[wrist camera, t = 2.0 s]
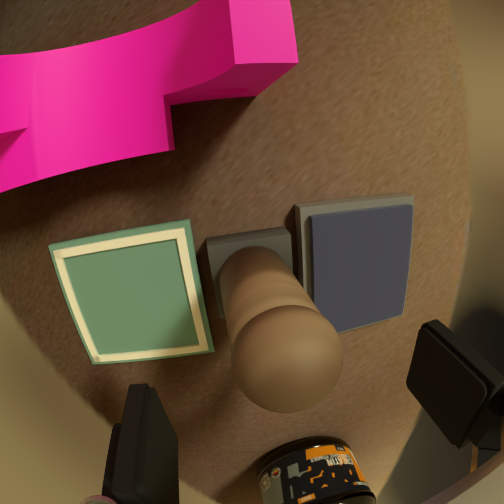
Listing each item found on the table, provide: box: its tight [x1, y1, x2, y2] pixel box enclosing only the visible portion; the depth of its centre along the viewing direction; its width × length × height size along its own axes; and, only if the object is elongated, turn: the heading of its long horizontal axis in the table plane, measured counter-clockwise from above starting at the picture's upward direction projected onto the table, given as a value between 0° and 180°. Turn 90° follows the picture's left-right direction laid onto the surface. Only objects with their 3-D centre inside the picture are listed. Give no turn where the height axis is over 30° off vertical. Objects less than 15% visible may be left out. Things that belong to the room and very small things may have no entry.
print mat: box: [48, 219, 215, 364], centre depth 17 cm, size 9×9×1 cm
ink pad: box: [295, 193, 414, 333], centre depth 19 cm, size 9×8×2 cm
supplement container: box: [257, 436, 376, 504], centre depth 21 cm, size 10×10×12 cm
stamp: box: [206, 227, 343, 413], centre depth 13 cm, size 4×4×10 cm
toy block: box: [0, 0, 298, 193], centre depth 11 cm, size 15×6×8 cm, turn 95°
